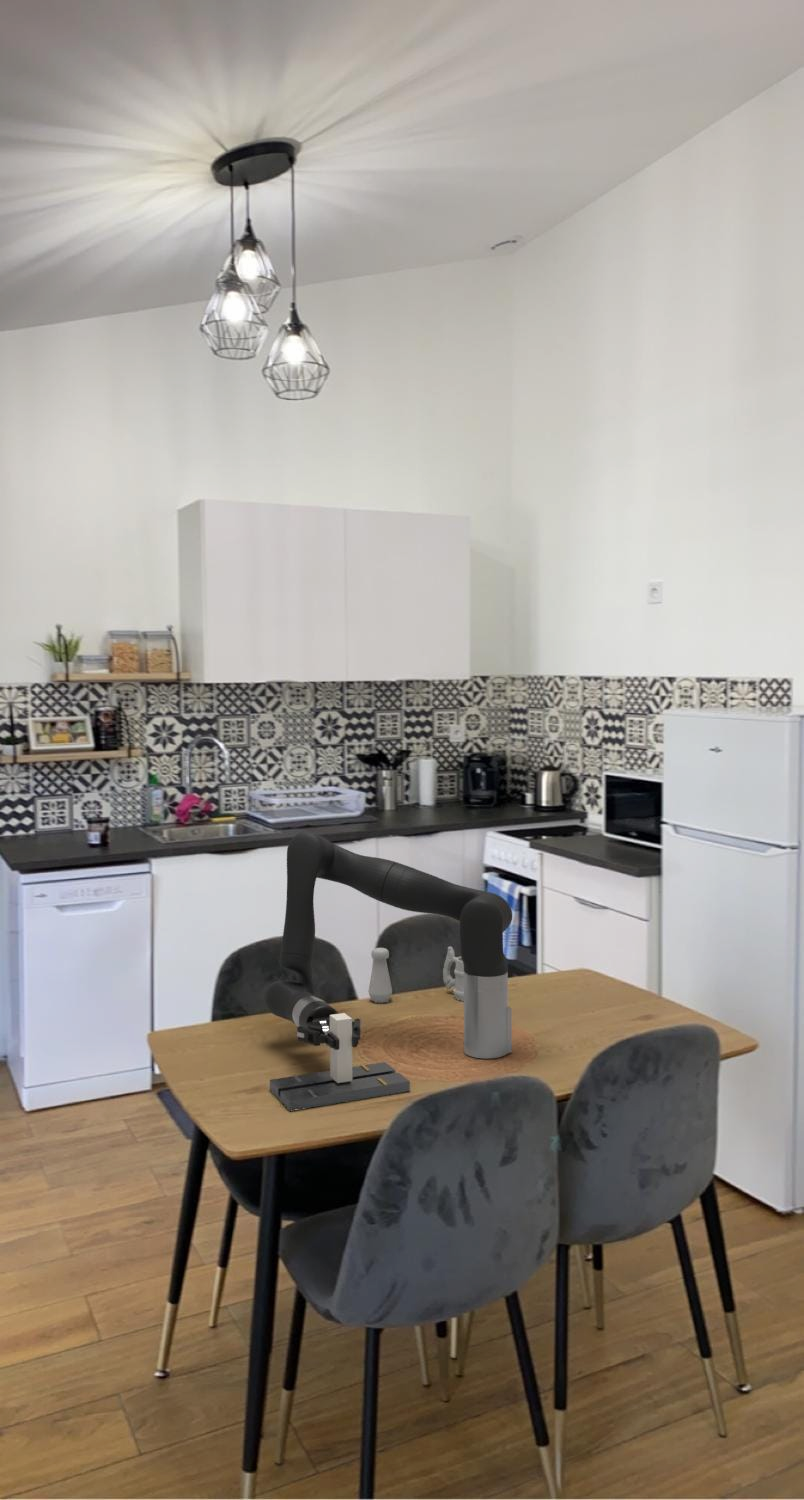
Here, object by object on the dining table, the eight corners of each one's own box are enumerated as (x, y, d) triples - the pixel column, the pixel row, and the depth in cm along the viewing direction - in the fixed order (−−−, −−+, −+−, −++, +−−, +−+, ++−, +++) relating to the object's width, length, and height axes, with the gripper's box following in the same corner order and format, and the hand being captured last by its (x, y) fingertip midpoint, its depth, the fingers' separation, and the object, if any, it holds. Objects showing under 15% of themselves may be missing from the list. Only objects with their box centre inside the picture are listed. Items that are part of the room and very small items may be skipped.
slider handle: (344, 1079, 215) (344, 1012, 214) (352, 1086, 211) (351, 1018, 210) (330, 1082, 213) (329, 1014, 213) (337, 1088, 210) (337, 1020, 209)
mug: (471, 1004, 270) (471, 955, 269) (434, 995, 278) (433, 948, 277) (490, 997, 276) (490, 949, 275) (453, 989, 283) (452, 942, 283)
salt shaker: (389, 1004, 270) (388, 952, 269) (366, 1003, 271) (365, 951, 270) (394, 998, 275) (393, 946, 275) (371, 997, 277) (371, 945, 276)
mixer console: (384, 1071, 223) (384, 1060, 222) (409, 1091, 212) (409, 1080, 211) (269, 1090, 213) (269, 1078, 213) (289, 1111, 202) (289, 1099, 202)
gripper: (282, 1004, 222) (311, 1028, 206) (348, 996, 227) (380, 1019, 212) (282, 1041, 222) (311, 1068, 206) (348, 1032, 228) (381, 1057, 212)
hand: (346, 1043), depth 209 cm, fingers closed on slider handle, 3 cm apart
